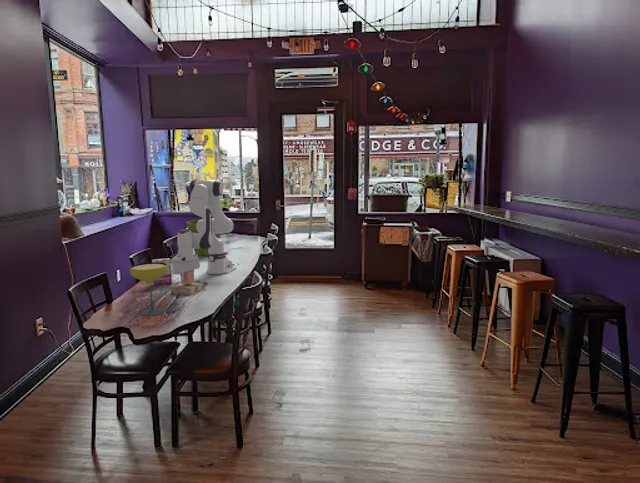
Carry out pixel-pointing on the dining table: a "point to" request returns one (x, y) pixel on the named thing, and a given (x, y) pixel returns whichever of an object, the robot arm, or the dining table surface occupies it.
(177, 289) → the plinth
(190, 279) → the block
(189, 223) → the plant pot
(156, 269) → the cocktail glass
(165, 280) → the candy bar box
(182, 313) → the dining table surface
